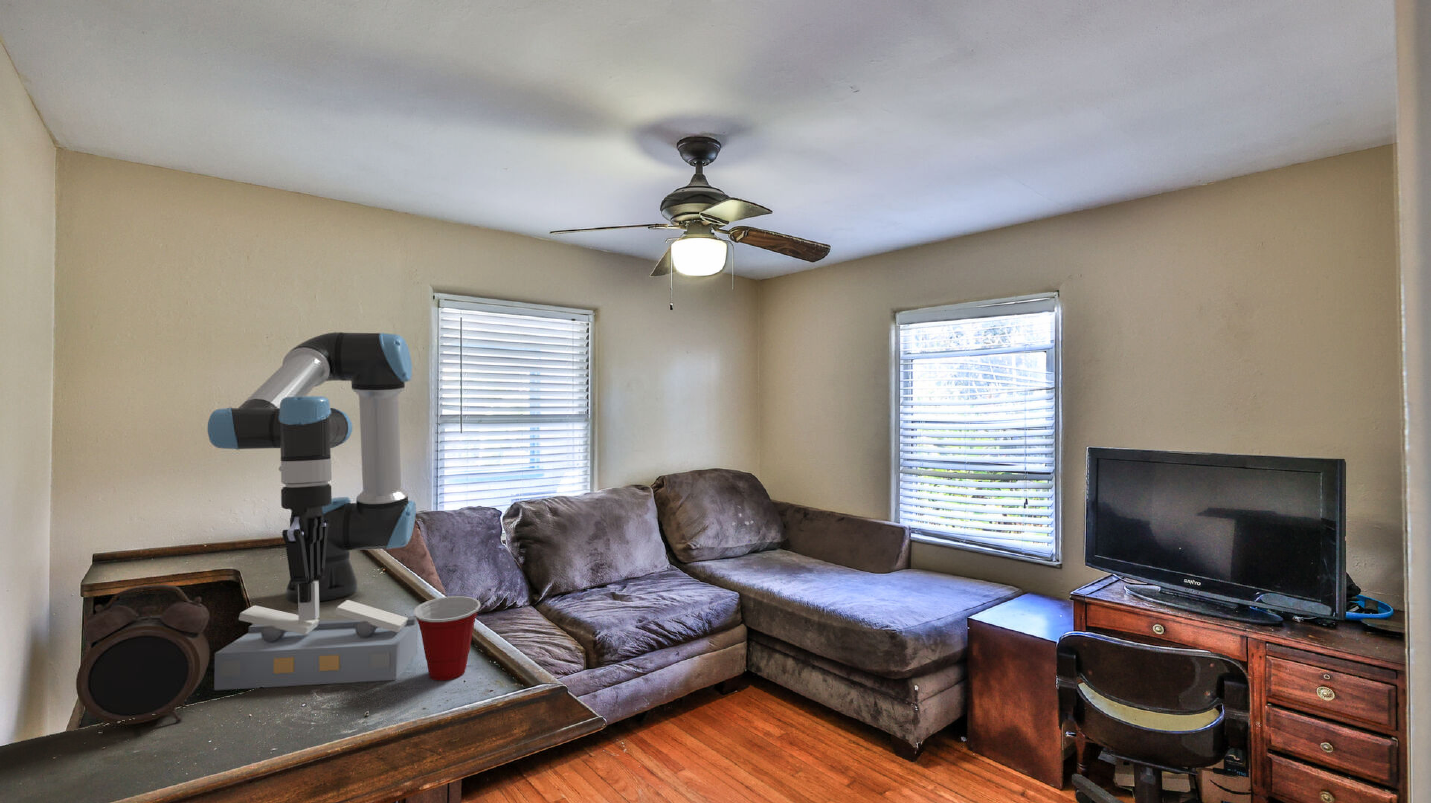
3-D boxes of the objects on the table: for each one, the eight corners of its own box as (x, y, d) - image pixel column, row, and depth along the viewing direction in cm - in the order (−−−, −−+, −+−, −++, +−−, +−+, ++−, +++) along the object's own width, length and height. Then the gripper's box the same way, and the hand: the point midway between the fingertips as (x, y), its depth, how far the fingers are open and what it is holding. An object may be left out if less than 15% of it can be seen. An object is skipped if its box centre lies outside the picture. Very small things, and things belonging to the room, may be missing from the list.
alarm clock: (69, 746, 89) (70, 599, 90) (90, 723, 96) (91, 586, 96) (201, 723, 96) (202, 586, 96) (213, 703, 102) (214, 575, 103)
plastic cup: (407, 691, 107) (407, 617, 107) (418, 665, 118) (419, 598, 118) (477, 683, 110) (477, 611, 110) (483, 659, 120) (483, 594, 120)
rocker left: (248, 625, 116) (254, 605, 116) (312, 639, 117) (319, 619, 117) (233, 634, 111) (240, 612, 111) (301, 648, 113) (307, 627, 113)
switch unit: (254, 661, 119) (254, 623, 119) (417, 653, 123) (417, 616, 123) (213, 690, 107) (213, 647, 107) (395, 680, 111) (395, 638, 111)
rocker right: (339, 619, 118) (347, 599, 118) (400, 637, 119) (408, 617, 120) (329, 627, 114) (337, 607, 114) (392, 646, 115) (400, 625, 115)
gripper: (300, 481, 121) (303, 609, 121) (263, 489, 108) (266, 633, 108) (344, 479, 122) (347, 606, 122) (312, 487, 109) (315, 629, 109)
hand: (309, 619), depth 115 cm, fingers closed
